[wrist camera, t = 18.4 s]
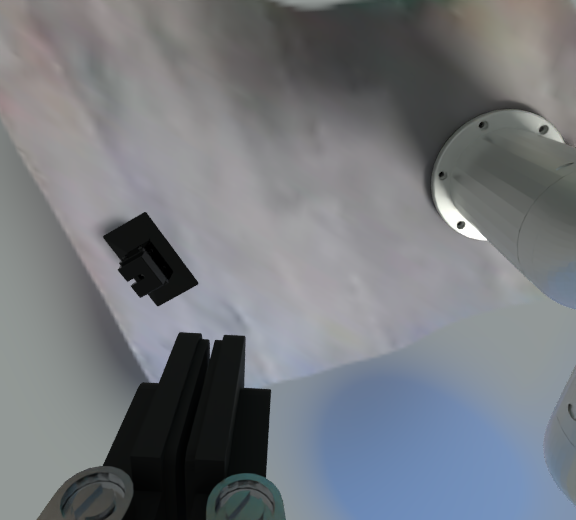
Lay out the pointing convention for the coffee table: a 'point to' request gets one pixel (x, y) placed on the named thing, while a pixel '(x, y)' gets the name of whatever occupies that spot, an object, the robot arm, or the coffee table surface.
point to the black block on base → (149, 260)
